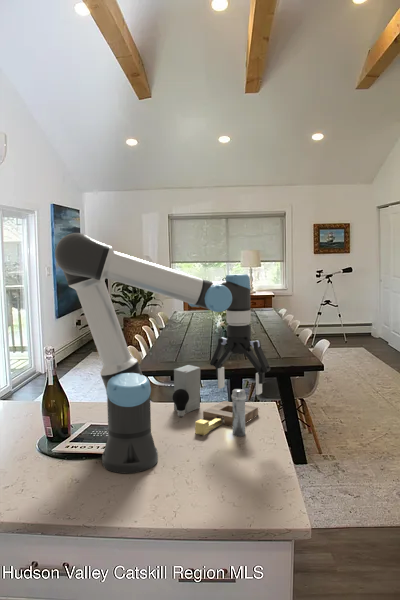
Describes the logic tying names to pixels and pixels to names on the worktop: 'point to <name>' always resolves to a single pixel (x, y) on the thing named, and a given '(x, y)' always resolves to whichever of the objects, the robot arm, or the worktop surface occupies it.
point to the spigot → (238, 411)
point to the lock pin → (206, 426)
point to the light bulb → (180, 400)
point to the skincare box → (188, 385)
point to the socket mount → (228, 412)
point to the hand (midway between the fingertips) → (239, 390)
